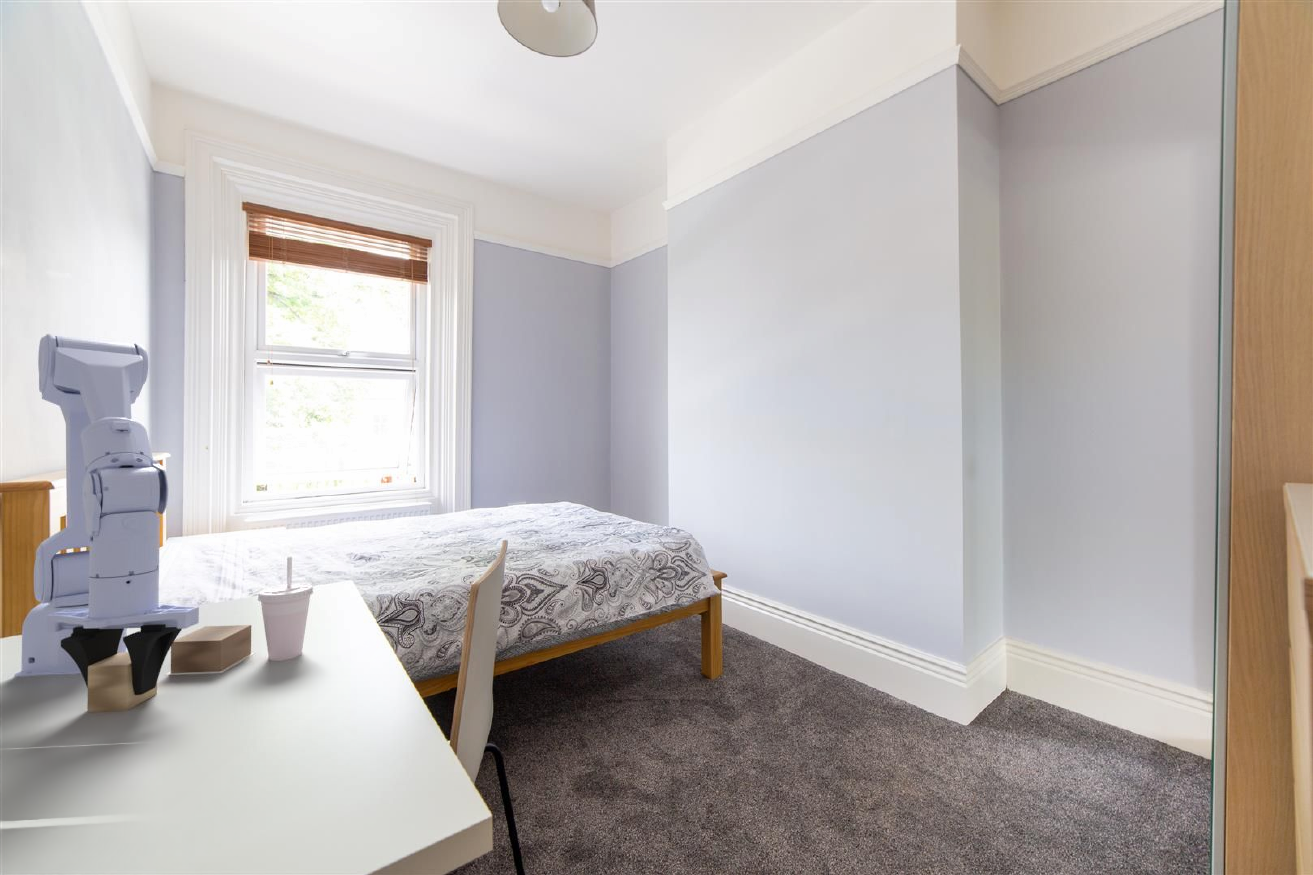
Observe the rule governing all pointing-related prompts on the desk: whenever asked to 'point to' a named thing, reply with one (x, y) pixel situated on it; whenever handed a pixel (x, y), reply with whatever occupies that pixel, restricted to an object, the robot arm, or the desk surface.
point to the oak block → (113, 685)
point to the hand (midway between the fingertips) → (123, 691)
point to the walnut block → (210, 649)
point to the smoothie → (285, 617)
